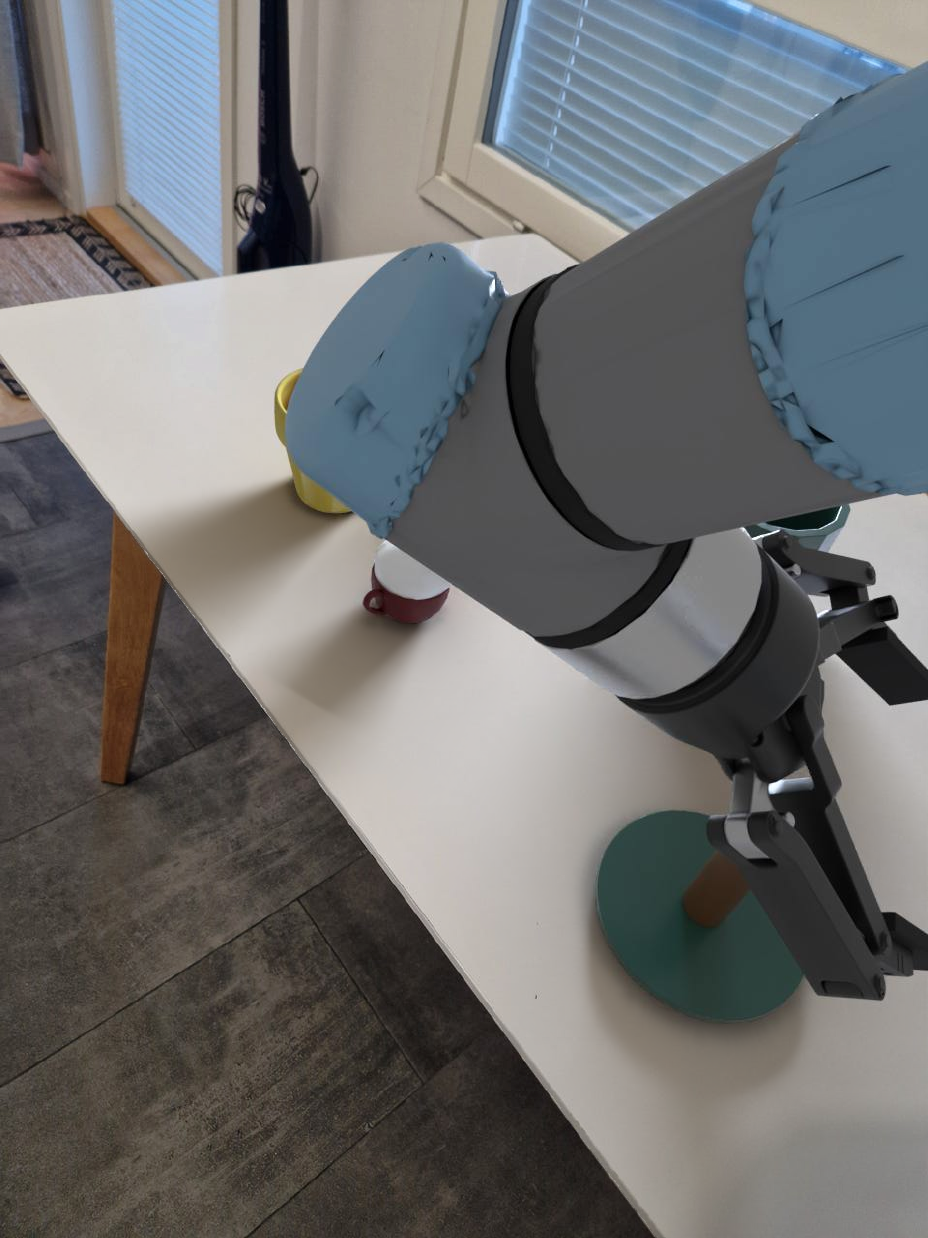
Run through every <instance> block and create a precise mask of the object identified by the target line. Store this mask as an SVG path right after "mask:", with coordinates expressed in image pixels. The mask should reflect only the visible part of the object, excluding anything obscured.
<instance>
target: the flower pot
mask: <svg viewBox="0 0 928 1238" xmlns="http://www.w3.org/2000/svg"><path fill="white" fill-rule="evenodd" d="M303 368H304V367H301V368H299V369H297V370H294V371H292V372H290V373H289V374H288V375H286V376H284V377H283V378H282V379H281V381H280V382H279V383H278V385H277V386H276V388H275V391H274V397H273V401H274V402H273V403H274V404H273V405H274V406H273V409H274V411H273V413H274V428H275V432H276V435H277V438H278V440H279V442H281V444H282V445H283V446H284V447H285V451H286V453H287V459H288V462H289V467H290V470H291V474H292V478H293V483H294V487H295V491H296V495H297V496H298V498H300V501H301V502H303V503H304V504H305V505H307V506H308V507H309V508H312V509H313V510H316V511H319V512H322V513H326V514H343V513H344V514H345V513H349V512H352V511H351V510H350V509H349V508H347V507H346V506H345V505H343V504H342V503H341V502H340V501H338V500H337V499H336V498H334V497H333V496H332V495H330V494H329V493H328V492H327V491H325V490H324V489H323V488H321V487H320V486H319V485H318V484H316V483H315V482H314V481H312V480H311V479H310V478H308V477H307V476H306V475H305V474H304V473H303V472H302V471H301V470H300V469H299V468H298V467H297V466H296V464H295V463H294V461H293V460H292V458H291V456H290V453H289V451H288V448H287V444H286V437H285V418H286V414H287V409H288V405H289V400H290V397H291V394H292V391H293V389H294V387H295V385H296V383H297V380H298V378H299V376H300V374H301V372H302V370H303Z"/></svg>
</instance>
